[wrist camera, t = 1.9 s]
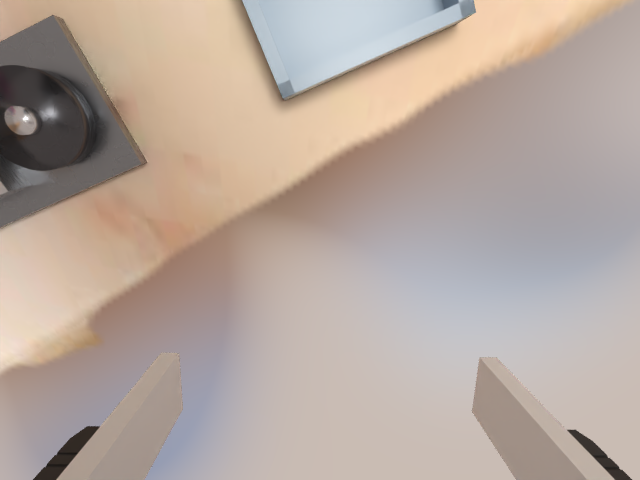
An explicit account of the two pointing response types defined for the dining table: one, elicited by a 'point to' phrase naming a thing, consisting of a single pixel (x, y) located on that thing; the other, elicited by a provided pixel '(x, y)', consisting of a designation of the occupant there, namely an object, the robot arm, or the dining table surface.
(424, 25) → the tray
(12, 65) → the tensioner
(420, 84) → the dining table surface
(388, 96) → the dining table surface
